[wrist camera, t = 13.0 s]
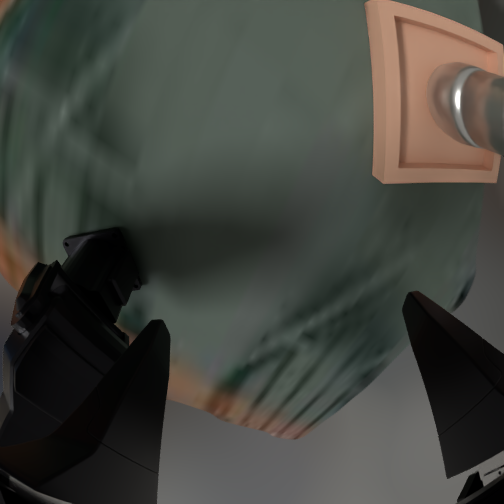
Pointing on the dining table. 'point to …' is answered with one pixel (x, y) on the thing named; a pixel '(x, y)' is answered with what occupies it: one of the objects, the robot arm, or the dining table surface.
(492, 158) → the tray
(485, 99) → the plastic bottle
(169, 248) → the dining table surface
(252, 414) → the dining table surface
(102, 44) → the dining table surface
